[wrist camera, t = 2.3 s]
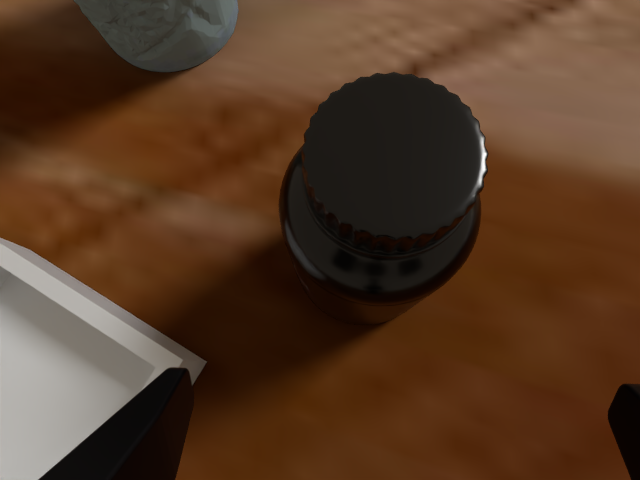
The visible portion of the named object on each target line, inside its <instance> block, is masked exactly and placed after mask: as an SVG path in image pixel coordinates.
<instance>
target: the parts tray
mask: <svg viewBox="0 0 640 480" xmlns="http://www.w3.org/2000/svg"><path fill="white" fill-rule="evenodd" d="M206 363H207V362H206V361H205V360H203V359H202V358H200V357H199V356H197V355H195V354H194V353H192V352H191V351H189V350H187V349H186V348H184V347H183V346H181V345H180V344H178V343H176V342H175V341H173V340H172V339H170V338H168V337H167V336H165V335H164V334H162V333H161V332H159V331H157V330H156V329H154V328H153V327H151V326H150V325H148V324H146V323H145V322H143V321H142V320H140V319H138V318H137V317H135V316H134V315H132V314H131V313H129V312H127V311H126V310H124V309H123V308H121V307H119V306H118V305H116V304H115V303H113V302H112V301H110V300H108V299H107V298H105V297H104V296H102V295H101V294H99V293H97V292H96V291H94V290H93V289H91V288H89V287H88V286H86V285H85V284H83V283H82V282H80V281H78V280H77V279H75V278H74V277H72V276H71V275H69V274H67V273H66V272H64V271H63V270H61V269H59V268H58V267H56V266H55V265H53V264H52V263H50V262H48V261H47V260H45V259H44V258H42V257H40V256H39V255H37V254H36V253H34V252H33V251H31V250H29V249H27V248H24V247H22V246H19V245H17V244H14V243H12V242H9V241H7V240H4V239H2V238H0V480H38V479H39V478H41V477H42V476H43V475H44V474H45V473H46V472H47V471H49V470H50V469H51V468H52V467H53V466H54V465H56V464H57V463H58V462H59V461H60V460H61V459H63V458H64V457H65V456H66V455H67V454H68V453H70V452H71V451H72V450H73V449H74V448H75V447H76V446H78V445H79V444H80V443H81V442H82V441H83V440H85V439H86V438H87V437H88V436H89V435H90V434H92V433H93V432H94V431H95V430H96V429H97V428H98V427H100V426H101V425H102V424H103V423H104V422H105V421H107V420H108V419H109V418H110V417H111V416H112V415H114V414H115V413H116V412H117V411H118V410H119V409H121V408H122V407H123V406H124V405H125V404H126V403H127V402H129V401H130V400H131V399H132V398H133V397H134V396H136V395H137V394H138V393H139V392H140V391H141V390H143V389H144V388H145V387H146V386H147V385H148V384H149V383H151V382H152V381H153V380H154V379H155V378H156V377H158V376H159V375H160V374H161V373H162V372H163V371H165V370H166V369H167V368H170V367H181V368H187V369H188V370H189V372H190V377H191V382H192V385H193V384H194V382H195V380H196V379H197V377H198V376H199V374H200V372H201V371H202V369H203V368H204V366H205V364H206Z"/></svg>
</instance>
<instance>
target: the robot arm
mask: <svg viewBox="0 0 640 480" xmlns="http://www.w3.org/2000/svg"><path fill="white" fill-rule="evenodd" d="M193 404H194V392H193V387H192V382H191V377H190V372H189V370H188V369H187V368H181V367H170V368H167V369H166V370H165V371H163V372H162V373H161V374H160V375H159V376H158V377H156V378H155V379H154V380H153V381H152V382H151V383H149V384H148V385H147V386H146V387H145V388H144V389H143V390H141V391H140V392H139V393H138V394H137V395H136V396H134V397H133V398H132V399H131V400H130V401H129V402H127V403H126V404H125V405H124V406H123V407H122V408H121V409H119V410H118V411H117V412H116V413H115V414H114V415H112V416H111V417H110V418H109V419H108V420H107V421H105V422H104V423H103V424H102V425H101V426H100V427H98V428H97V429H96V430H95V431H94V432H93V433H92V434H90V435H89V436H88V437H87V438H86V439H85V440H83V441H82V442H81V443H80V444H79V445H78V446H76V447H75V448H74V449H73V450H72V451H71V452H70V453H68V454H67V455H66V456H65V457H64V458H63V459H61V460H60V461H59V462H58V463H57V464H56V465H54V466H53V467H52V468H51V469H50V470H49V471H47V472H46V473H45V474H44V475H43V476H42V477H41V478H39V479H38V480H175V478H176V474H177V471H178V467H179V463H180V459H181V455H182V450H183V446H184V442H185V438H186V434H187V430H188V426H189V421H190V417H191V413H192V409H193ZM608 420H609V424H610V427H611V429H612V432H613V434H614V437H615V439H616V442H617V444H618V447H619V449H620V452H621V455H622V457H623V460H624V462H625V465H626V467H627V470H628V472H629V475H630V477H631V480H640V384H622V385H621V386H620V387H619V388H618V390H617V393H616V395H615V397H614V399H613V401H612V403H611V405H610V408H609V410H608Z"/></svg>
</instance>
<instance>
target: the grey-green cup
mask: <svg viewBox="0 0 640 480" xmlns="http://www.w3.org/2000/svg"><path fill="white" fill-rule="evenodd" d="M74 2H75V3H77V4H78V5H79V6H80V9H81V11H82V13H83V14H84V15H85V16H86V17H87V18H88V20H89V21H90V22H91V23H92V24H93V25H94V26H95V28H96V29H97V30H98V31H99V33H100V34H101V35H102V37H103V38H104V39H105V40H106V42H107V43H108V44H109V45H110V47H111V48H112V49H113V50H114V51H115V52H116V53H117V54H118V55H119V56H121V57H122V58H123V59H124V60H126V61H127V62H129V63H130V64H132V65H134V66H136V67H139V68H141V69H145V70H149V71H155V72H175V71H180V70H185V69H188V68H191V67H194V66H197V65H199V64H201V63H203V62H205V61H206V60H208V59H209V58H211V57H213V56H214V55H215V54H216V53H217V52H218V51H220V50H221V48H222V47H223V46H224V45H225V44H226V43H227V41H228V40H229V38H230V37H231V36H232V34H233V32H234V29H235V25H236V21H237V13H238V4H237V0H74Z"/></svg>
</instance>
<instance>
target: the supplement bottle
mask: <svg viewBox="0 0 640 480" xmlns="http://www.w3.org/2000/svg"><path fill="white" fill-rule="evenodd" d="M304 142H305V143H304V144H303V146H302V147H301V148H300V149H299V150H298V152H297V153H296V154H295V156H294V157H293V159H292V160H291V162H290V164H289V166H288V168H287V170H286V172H285V175H284V178H283V181H282V185H281V189H280V196H279V217H280V224H281V229H282V233H283V237H284V240H285V243H286V246H287V248H288V251H289V254H290V257H291V259H292V262H293V265H294V267H295V270H296V273H297V275H298V278H299V280H300V283H301V285H302V287H303V289H304V290H305V292H306V294H307V295H308V297H309V298H310V299H311V300H312V302H313V303H314V304H315V305H316V306H317V307H318V308H320V309H321V310H322V311H323V312H325V313H326V314H328V315H329V316H331V317H333V318H335V319H338V320H340V321H343V322H346V323H351V324H357V325H372V324H378V323H383V322H386V321H389V320H391V319H393V318H396V317H397V316H399V315H401V314H403V313H404V312H406V311H407V310H409V309H410V308H412V307H413V306H414V305H416V304H417V303H419V302H420V301H422V300H423V299H424V298H426V297H427V296H429V295H430V294H432V293H433V292H434V291H436V290H437V289H439V288H440V287H442V286H443V285H444V284H445V283H446V282H447V281H449V280H450V279H451V278H452V277H453V276H454V275H455V274H456V272H457V271H458V270H459V269H460V268H461V267H462V265H463V264H464V263H465V261H466V260H467V258H468V256H469V255H470V253H471V251H472V249H473V247H474V244H475V242H476V239H477V235H478V232H479V227H480V220H481V201H480V194H479V193H480V192H481V191H482V190H483V187H484V181H483V178H484V177H485V175H486V174H487V172H488V168H487V165H486V160H487V157H488V151H487V149H486V148H485V136H484V134H483V133H482V132H481V131H480V124H479V121H478V120H477V119H476V118H474V117H473V116H472V112H471V109H470V107H468V106H467V105H465V104H463V103H462V102H461V100H460V98H459V96H458V95H456V94H453V93H451V92H449V91H448V90H447V89H446V88H445V87H444V86H442V85H439V84H434V83H433V82H432V81H431V80H429V79H427V78H418V77H416V76H415V75H412V74H405V75H401V74H399V73H395V72H392V73H389V74H380V73H376V74H374V75H372V76H370V77H360V78H358V79H357V80H356V81H354V82H352V83H346V84H344V85H343V86H342V87H341V89H340V90H338V91H335V92H332V93H331V94H330V96H329V98H328V99H327V100H326V101H325V102H323V103H321V104H320V105H319V107H318V111H317V113H315V114H314V115H313V116H312V117H311V118H310V127H309V128H308V129H307V130H306V132H305V134H304Z"/></svg>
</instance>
